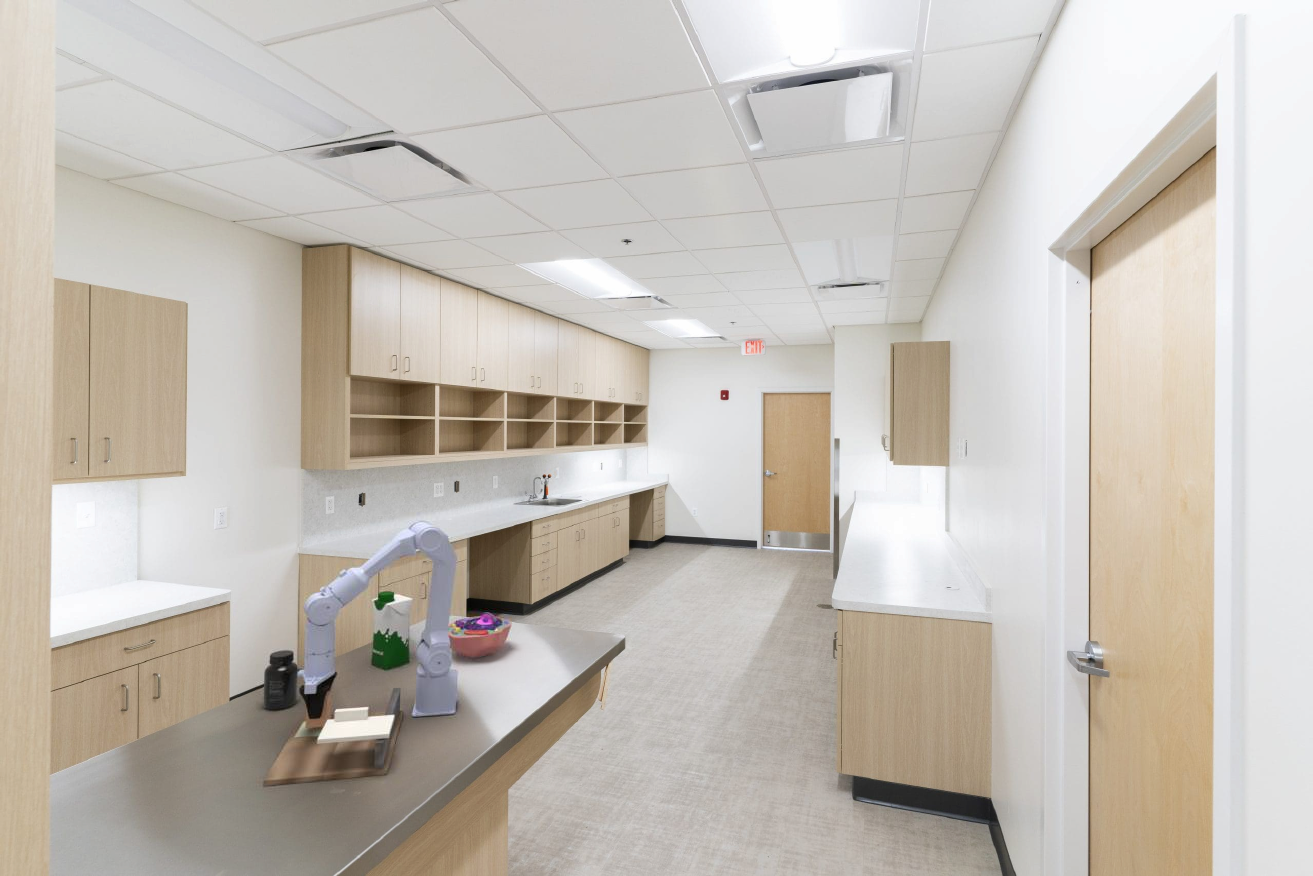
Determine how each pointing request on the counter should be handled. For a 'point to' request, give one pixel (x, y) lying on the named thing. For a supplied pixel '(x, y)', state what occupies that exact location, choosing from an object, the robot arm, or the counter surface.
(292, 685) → the supplement bottle
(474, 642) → the cell model
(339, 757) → the board
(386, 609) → the milk carton
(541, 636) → the counter surface
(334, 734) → the cover
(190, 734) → the counter surface
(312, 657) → the robot arm
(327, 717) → the block
